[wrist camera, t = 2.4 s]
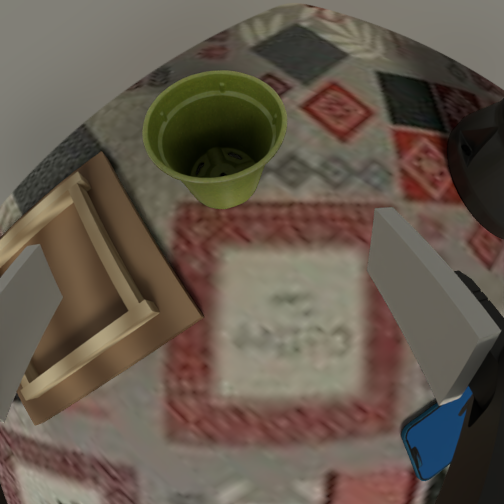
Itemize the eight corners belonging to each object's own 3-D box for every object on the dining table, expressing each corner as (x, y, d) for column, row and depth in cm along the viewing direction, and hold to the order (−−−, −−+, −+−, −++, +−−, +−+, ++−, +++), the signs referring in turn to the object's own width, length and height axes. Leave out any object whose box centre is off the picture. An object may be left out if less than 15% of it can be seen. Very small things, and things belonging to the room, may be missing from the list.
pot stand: (107, 158, 28) (93, 140, 25) (204, 316, 25) (196, 315, 21) (-20, 270, 26) (-40, 264, 22) (43, 422, 22) (22, 430, 19)
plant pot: (199, 122, 29) (183, 59, 20) (292, 151, 28) (304, 89, 20) (154, 206, 27) (117, 158, 18) (255, 244, 26) (255, 204, 18)
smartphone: (522, 394, 22) (421, 485, 20) (517, 394, 23) (417, 481, 21) (509, 340, 23) (401, 431, 21) (503, 340, 24) (396, 428, 22)
